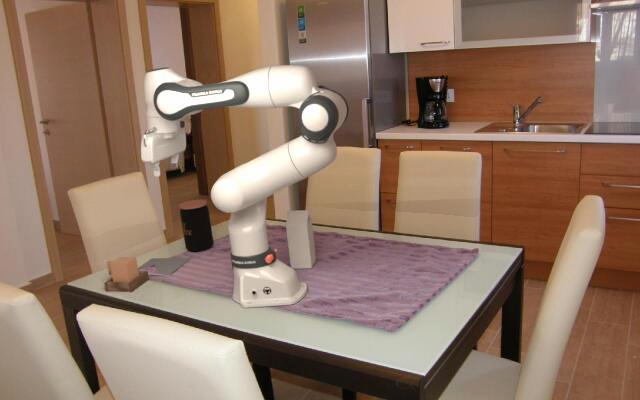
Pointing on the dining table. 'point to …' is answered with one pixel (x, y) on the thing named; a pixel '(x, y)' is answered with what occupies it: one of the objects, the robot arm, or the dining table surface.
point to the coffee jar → (196, 225)
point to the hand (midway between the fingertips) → (166, 172)
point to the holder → (127, 283)
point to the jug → (123, 269)
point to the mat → (165, 264)
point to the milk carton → (300, 239)
